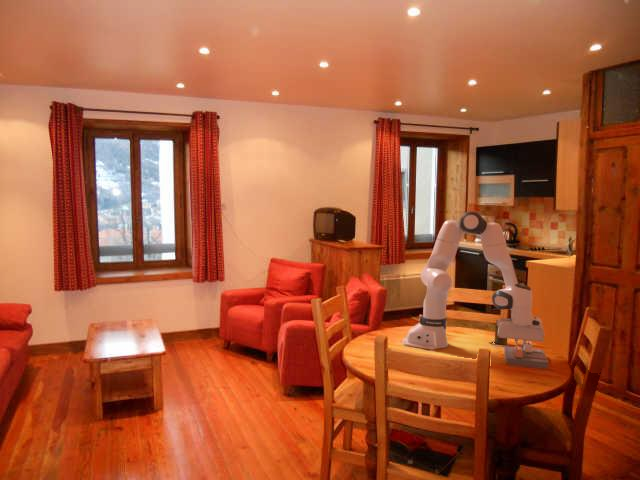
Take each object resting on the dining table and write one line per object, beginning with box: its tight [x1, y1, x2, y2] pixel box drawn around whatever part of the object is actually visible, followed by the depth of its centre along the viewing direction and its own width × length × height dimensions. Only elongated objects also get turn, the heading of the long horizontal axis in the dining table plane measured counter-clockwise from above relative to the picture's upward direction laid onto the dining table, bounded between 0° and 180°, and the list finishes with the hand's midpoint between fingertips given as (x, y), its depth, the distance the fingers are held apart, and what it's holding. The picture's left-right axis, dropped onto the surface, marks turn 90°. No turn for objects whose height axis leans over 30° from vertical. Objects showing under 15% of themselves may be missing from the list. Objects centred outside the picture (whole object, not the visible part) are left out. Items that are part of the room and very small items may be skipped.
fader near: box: [514, 345, 523, 358], centre depth 221 cm, size 3×5×4 cm, turn 163°
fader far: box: [524, 341, 534, 353], centre depth 228 cm, size 3×5×4 cm, turn 163°
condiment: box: [488, 319, 511, 348], centre depth 250 cm, size 7×8×12 cm
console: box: [503, 345, 549, 370], centre depth 225 cm, size 17×18×3 cm
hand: (520, 348), depth 230 cm, fingers closed
